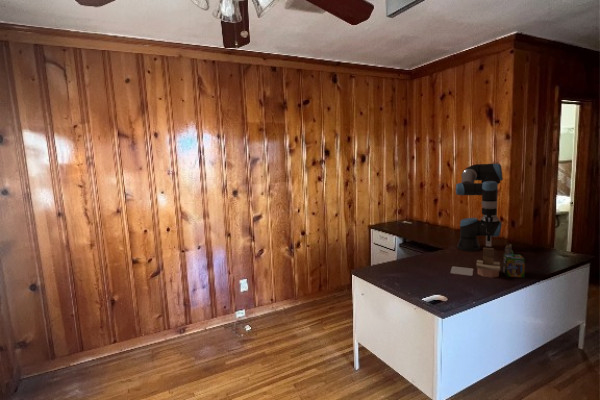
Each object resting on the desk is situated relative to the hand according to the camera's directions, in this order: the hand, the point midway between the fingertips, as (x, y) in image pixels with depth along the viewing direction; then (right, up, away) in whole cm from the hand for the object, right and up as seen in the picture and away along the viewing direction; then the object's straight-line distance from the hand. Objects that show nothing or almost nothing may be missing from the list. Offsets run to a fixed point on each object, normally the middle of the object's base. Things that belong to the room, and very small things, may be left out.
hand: (488, 243), depth 189 cm
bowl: (+1, -19, +2) cm, 19 cm away
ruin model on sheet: (+33, -14, +32) cm, 48 cm away
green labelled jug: (+15, -19, 0) cm, 24 cm away
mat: (-11, -19, +9) cm, 24 cm away
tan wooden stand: (+1, -14, +2) cm, 14 cm away
